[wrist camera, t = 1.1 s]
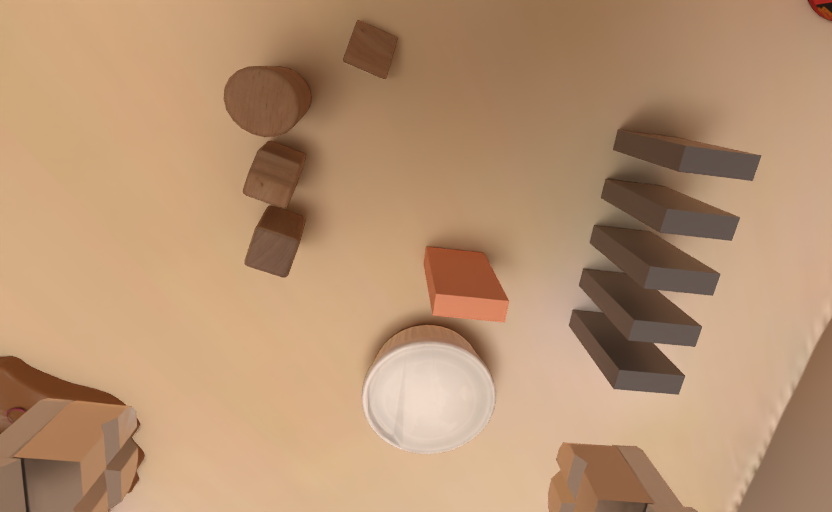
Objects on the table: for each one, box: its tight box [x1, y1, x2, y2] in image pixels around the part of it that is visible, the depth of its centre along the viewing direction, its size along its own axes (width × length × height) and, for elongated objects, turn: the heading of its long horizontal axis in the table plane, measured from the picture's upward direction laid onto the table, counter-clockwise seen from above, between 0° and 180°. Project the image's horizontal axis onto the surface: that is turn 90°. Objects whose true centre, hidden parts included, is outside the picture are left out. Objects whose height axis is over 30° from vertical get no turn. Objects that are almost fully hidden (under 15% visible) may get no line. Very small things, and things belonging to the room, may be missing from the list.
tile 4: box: [579, 269, 702, 347], centre depth 41 cm, size 2×5×10 cm, turn 83°
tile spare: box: [424, 247, 509, 322], centre depth 39 cm, size 2×5×10 cm, turn 83°
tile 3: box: [590, 225, 720, 296], centre depth 39 cm, size 2×5×10 cm, turn 82°
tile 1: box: [613, 130, 761, 181], centre depth 37 cm, size 2×5×10 cm, turn 83°
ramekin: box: [362, 325, 496, 454], centre depth 45 cm, size 11×11×5 cm
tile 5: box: [569, 310, 685, 394], centre depth 42 cm, size 2×5×10 cm, turn 83°
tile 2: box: [601, 179, 740, 241], centre depth 38 cm, size 2×5×10 cm, turn 83°
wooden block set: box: [224, 20, 397, 277], centre depth 35 cm, size 18×9×10 cm, turn 158°
